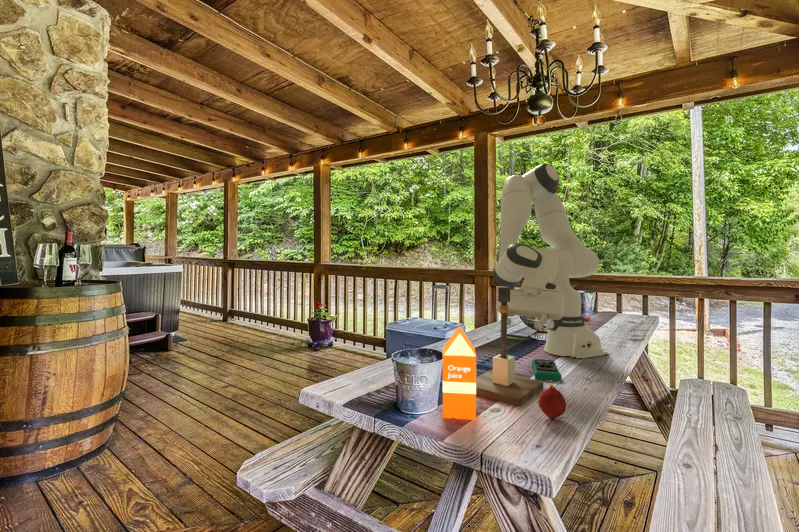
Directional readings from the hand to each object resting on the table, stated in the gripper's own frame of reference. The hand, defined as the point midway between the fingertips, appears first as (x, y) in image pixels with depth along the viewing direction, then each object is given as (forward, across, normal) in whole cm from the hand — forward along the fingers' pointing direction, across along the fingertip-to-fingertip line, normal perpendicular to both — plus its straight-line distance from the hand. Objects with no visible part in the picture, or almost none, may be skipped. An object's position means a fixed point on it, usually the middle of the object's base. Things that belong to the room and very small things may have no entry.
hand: (521, 326), depth 113 cm
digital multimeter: (+5, +4, +18) cm, 19 cm away
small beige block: (+18, 0, +1) cm, 18 cm away
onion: (+27, +17, -4) cm, 32 cm away
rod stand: (+20, 0, +2) cm, 20 cm away
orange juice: (+34, -1, -11) cm, 36 cm away
